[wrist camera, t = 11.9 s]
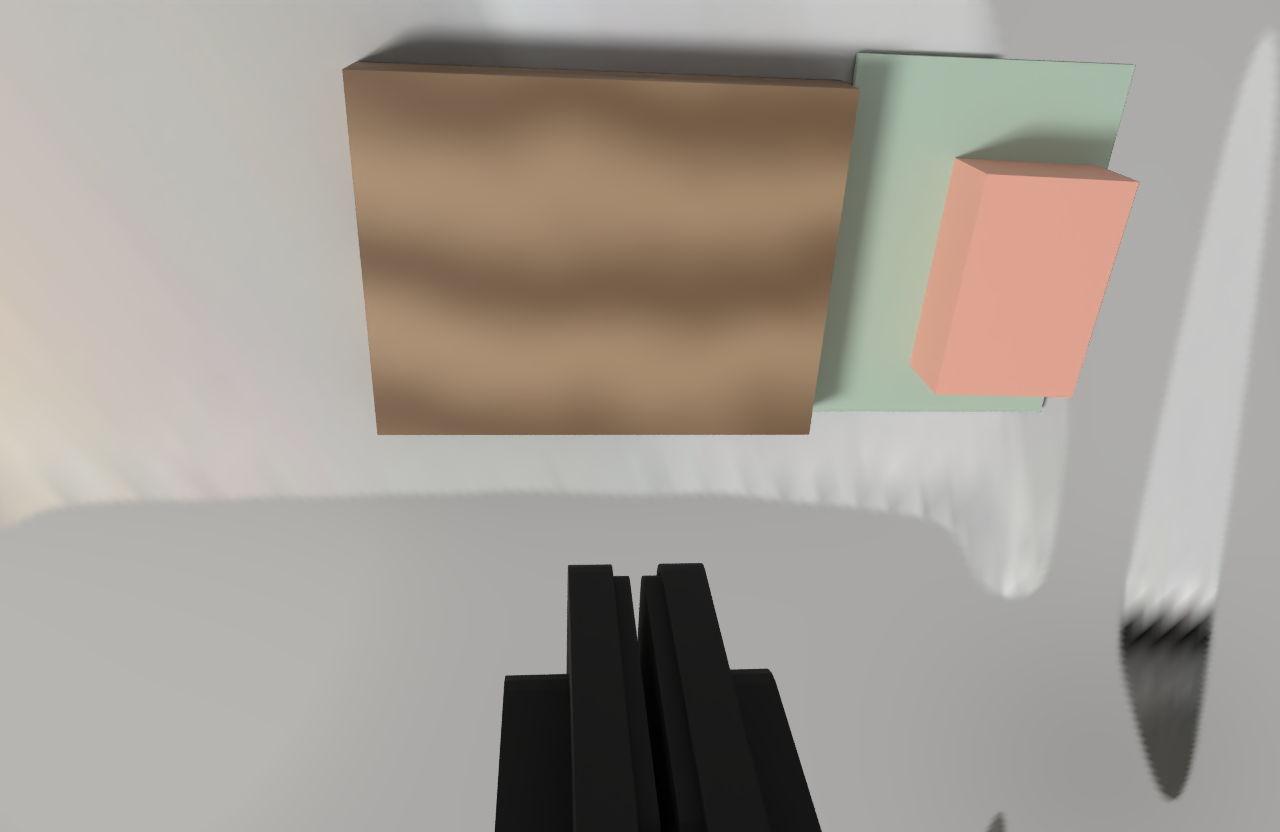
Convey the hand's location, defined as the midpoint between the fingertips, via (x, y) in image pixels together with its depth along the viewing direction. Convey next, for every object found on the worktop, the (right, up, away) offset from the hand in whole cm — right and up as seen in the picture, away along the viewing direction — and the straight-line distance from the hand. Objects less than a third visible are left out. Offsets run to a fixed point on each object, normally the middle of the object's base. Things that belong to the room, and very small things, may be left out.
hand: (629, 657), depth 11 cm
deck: (-2, +10, +26) cm, 27 cm away
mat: (+13, +10, +27) cm, 32 cm away
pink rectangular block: (+15, +9, +26) cm, 31 cm away
